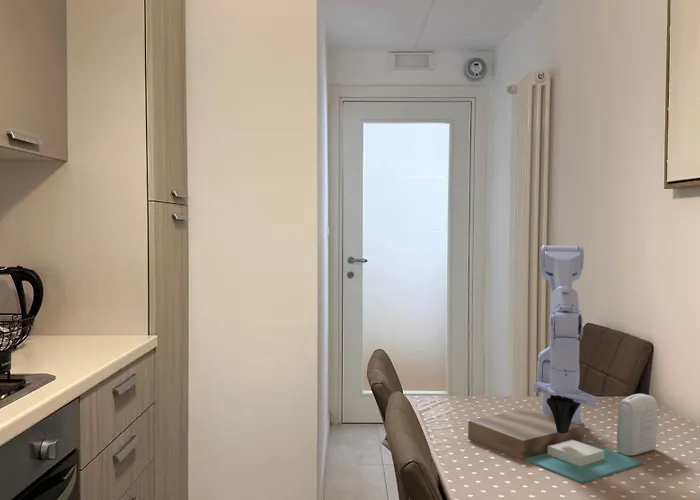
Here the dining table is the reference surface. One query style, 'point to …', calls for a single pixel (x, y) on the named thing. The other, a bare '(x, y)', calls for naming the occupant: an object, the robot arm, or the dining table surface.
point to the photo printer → (637, 424)
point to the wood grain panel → (521, 432)
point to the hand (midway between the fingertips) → (562, 432)
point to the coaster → (575, 452)
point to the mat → (589, 471)
